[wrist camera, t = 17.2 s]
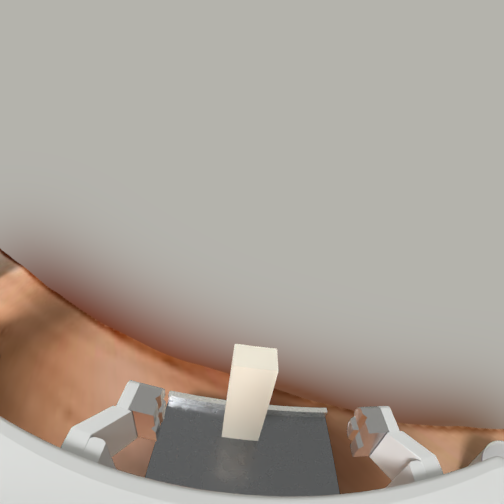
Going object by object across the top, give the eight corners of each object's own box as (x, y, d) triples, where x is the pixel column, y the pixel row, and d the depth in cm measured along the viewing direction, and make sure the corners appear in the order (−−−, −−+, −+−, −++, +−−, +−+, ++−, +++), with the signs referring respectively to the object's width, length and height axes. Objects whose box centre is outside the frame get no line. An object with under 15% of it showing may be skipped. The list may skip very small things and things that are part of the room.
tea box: (257, 440, 35) (278, 370, 31) (221, 436, 35) (232, 365, 31) (258, 418, 39) (276, 347, 35) (224, 414, 39) (234, 342, 35)
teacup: (483, 460, 31) (508, 433, 28) (504, 499, 21) (534, 473, 18) (432, 482, 30) (459, 455, 27) (452, 530, 20) (486, 506, 17)
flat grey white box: (146, 498, 26) (140, 484, 25) (171, 409, 43) (170, 389, 41) (330, 514, 27) (345, 500, 25) (316, 425, 43) (326, 406, 42)
